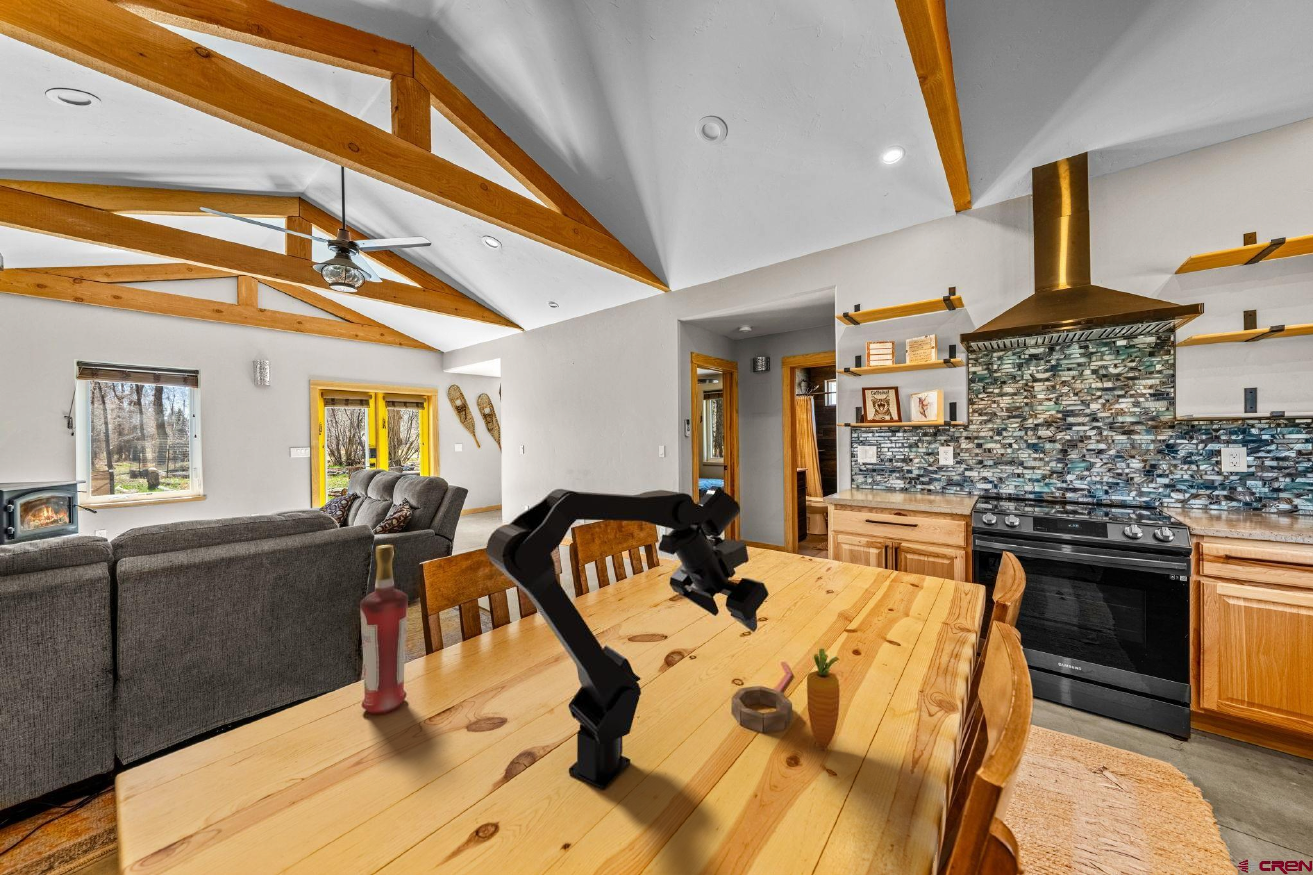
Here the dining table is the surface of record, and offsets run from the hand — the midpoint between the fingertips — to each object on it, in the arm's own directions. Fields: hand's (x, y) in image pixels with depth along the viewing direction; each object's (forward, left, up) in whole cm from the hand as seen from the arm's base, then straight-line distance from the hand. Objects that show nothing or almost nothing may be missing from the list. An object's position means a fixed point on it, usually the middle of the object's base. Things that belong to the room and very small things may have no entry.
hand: (735, 621), depth 86 cm
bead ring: (0, -5, -15) cm, 16 cm away
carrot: (-4, -16, -15) cm, 22 cm away
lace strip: (+12, -4, -15) cm, 20 cm away
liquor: (-32, +52, -15) cm, 63 cm away
